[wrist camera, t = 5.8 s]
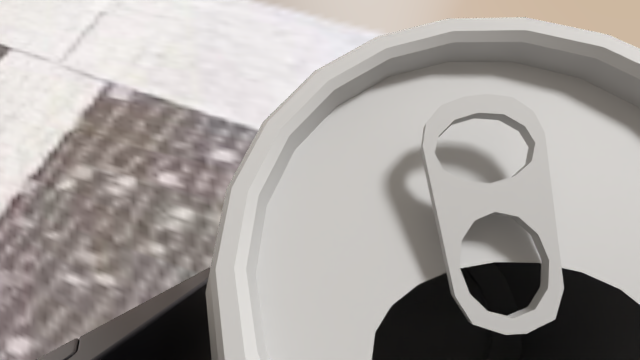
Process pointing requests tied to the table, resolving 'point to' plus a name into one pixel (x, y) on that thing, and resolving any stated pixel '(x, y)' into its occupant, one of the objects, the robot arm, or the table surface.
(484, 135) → the can
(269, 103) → the table surface
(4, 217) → the table surface
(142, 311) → the robot arm
